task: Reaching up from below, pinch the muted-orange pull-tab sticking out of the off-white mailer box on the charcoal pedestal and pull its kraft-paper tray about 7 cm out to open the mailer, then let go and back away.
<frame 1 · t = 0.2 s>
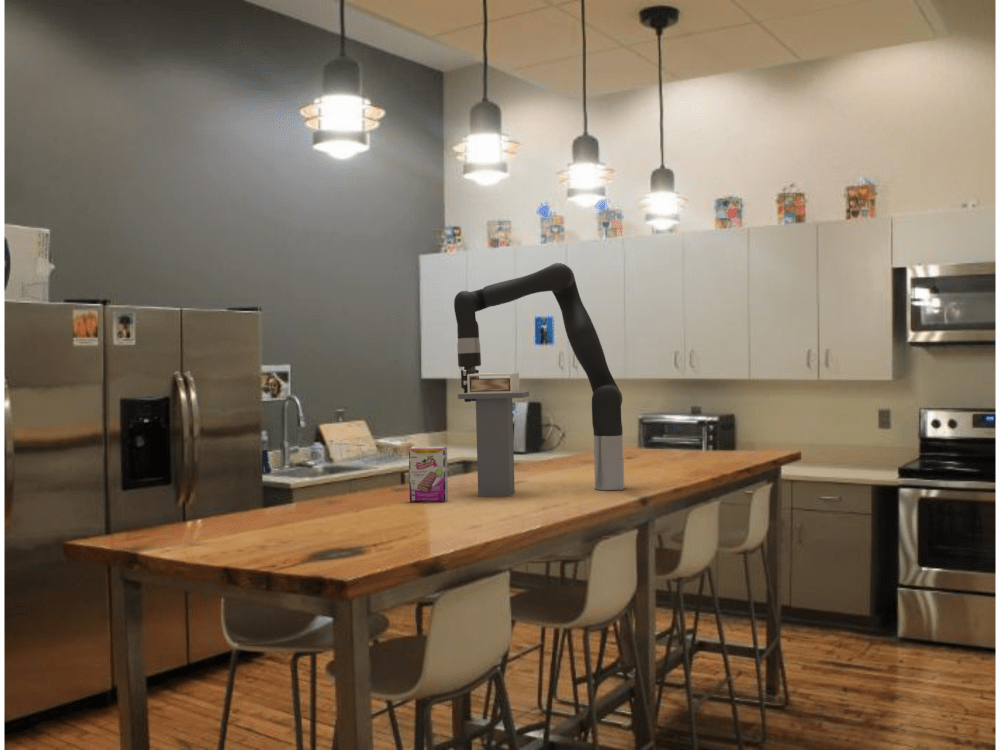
hand: (471, 401, 324), 29 cm above the table, tool pointing down, fingers open, 8 cm apart
mailer tray: (497, 383, 313), point 35 cm above the table, slide at 0.0 cm
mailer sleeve: (493, 392, 308), resting on charcoal pedestal
charcoal pedestal: (496, 494, 309), on the table
candy bar box: (429, 502, 298), on the table
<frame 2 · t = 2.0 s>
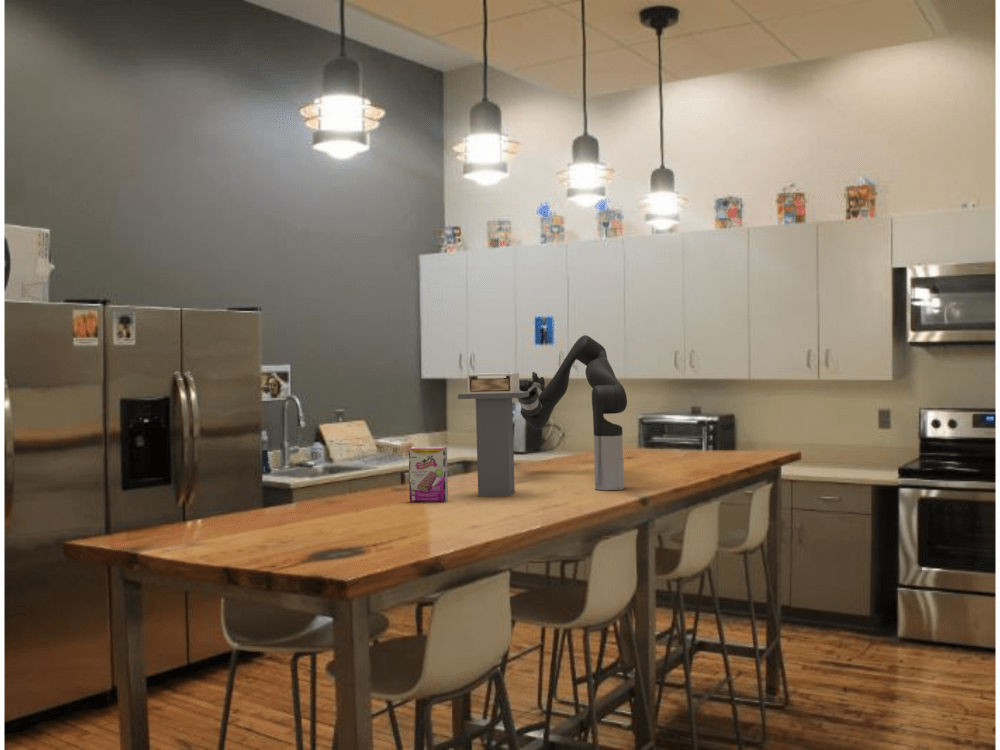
hand: (520, 374, 334), 37 cm above the table, tool pointing upward, fingers open, 8 cm apart
nothing on the table moved.
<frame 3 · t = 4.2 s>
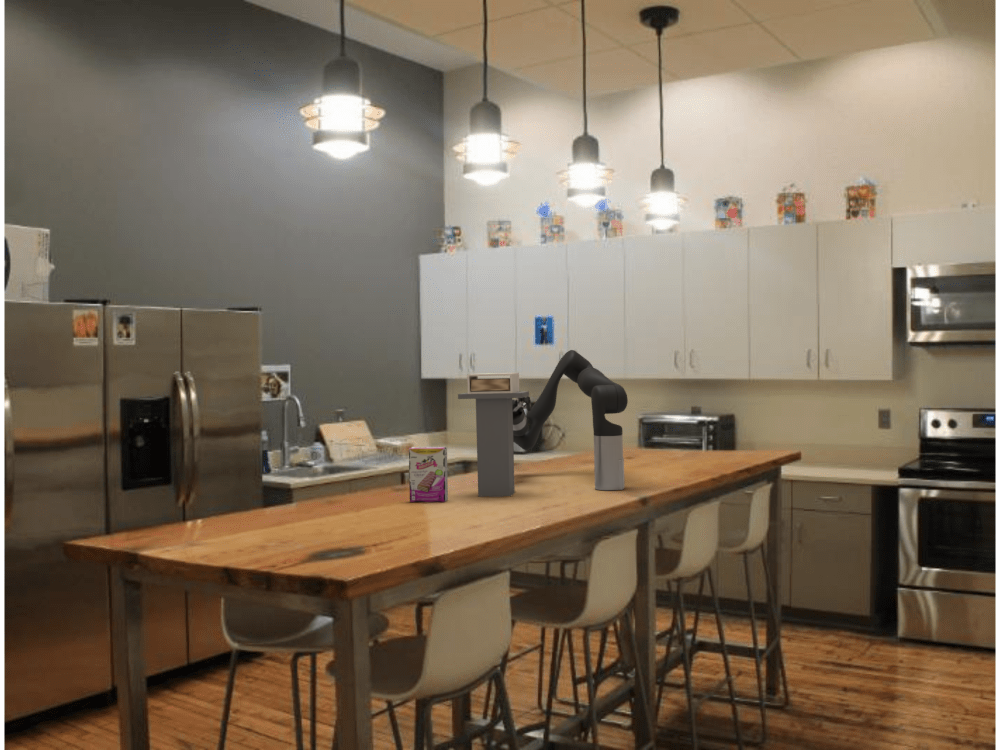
hand: (506, 393, 327), 31 cm above the table, tool pointing upward, fingers open, 8 cm apart
nothing on the table moved.
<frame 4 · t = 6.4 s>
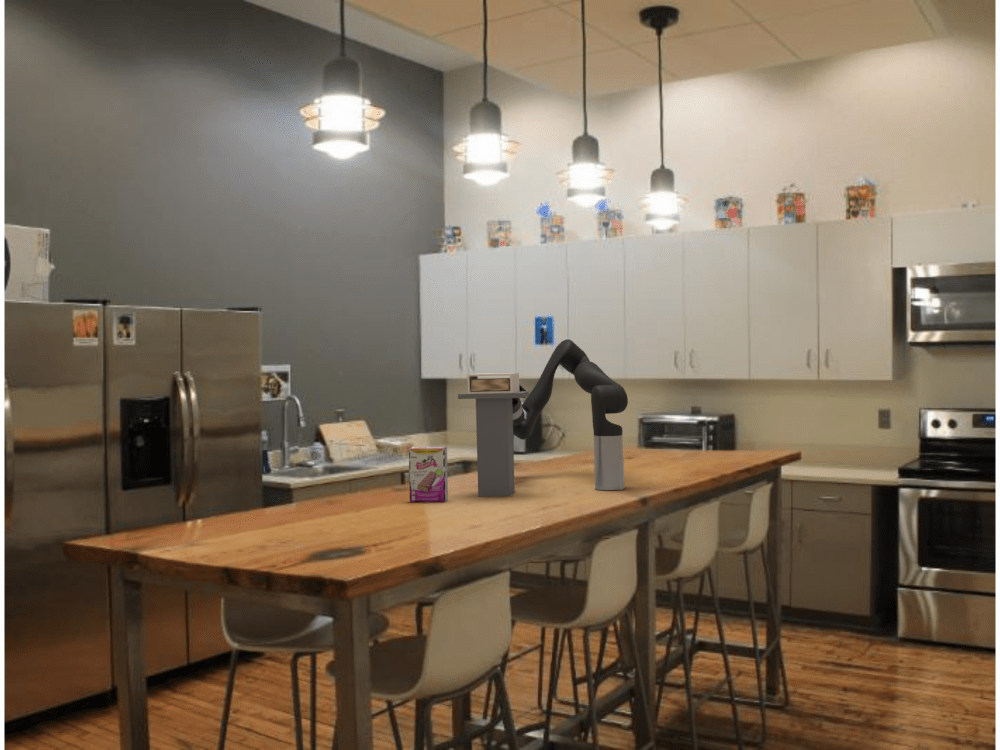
hand: (501, 380, 319), 35 cm above the table, tool pointing upward, fingers closed on mailer tray, 4 cm apart
mailer tray: (497, 383, 313), point 35 cm above the table, slide at 0.0 cm, touching gripper
everything else where it was.
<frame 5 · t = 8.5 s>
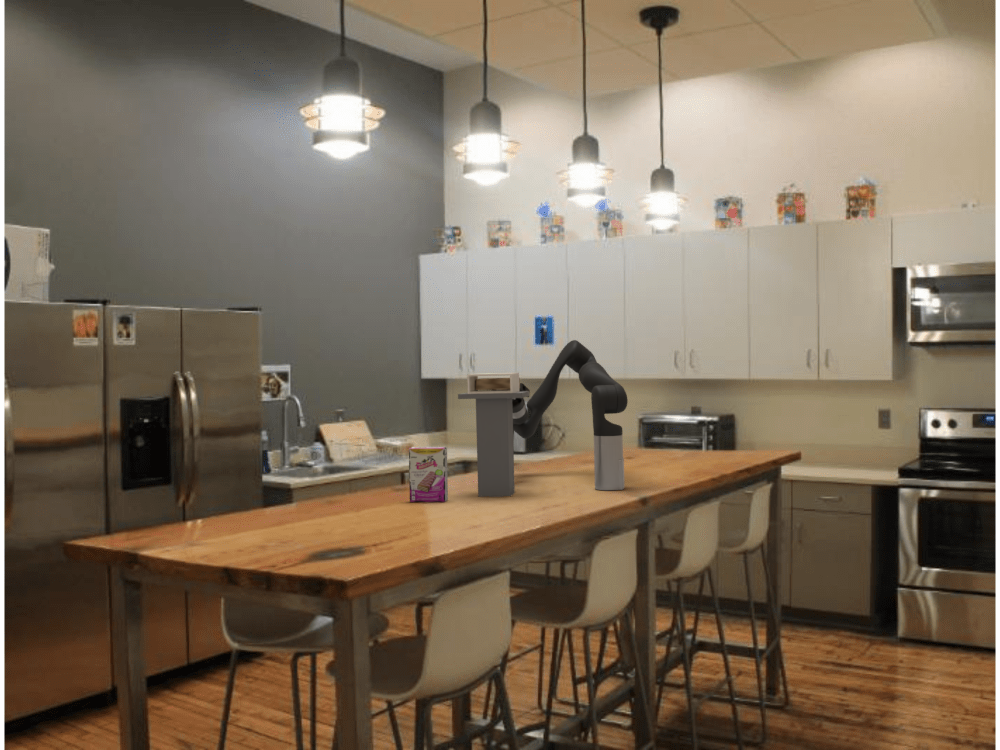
hand: (505, 380, 326), 35 cm above the table, tool pointing upward, fingers closed on mailer tray, 4 cm apart
mailer tray: (501, 383, 320), point 35 cm above the table, slide at 6.9 cm, touching gripper
everything else where it was.
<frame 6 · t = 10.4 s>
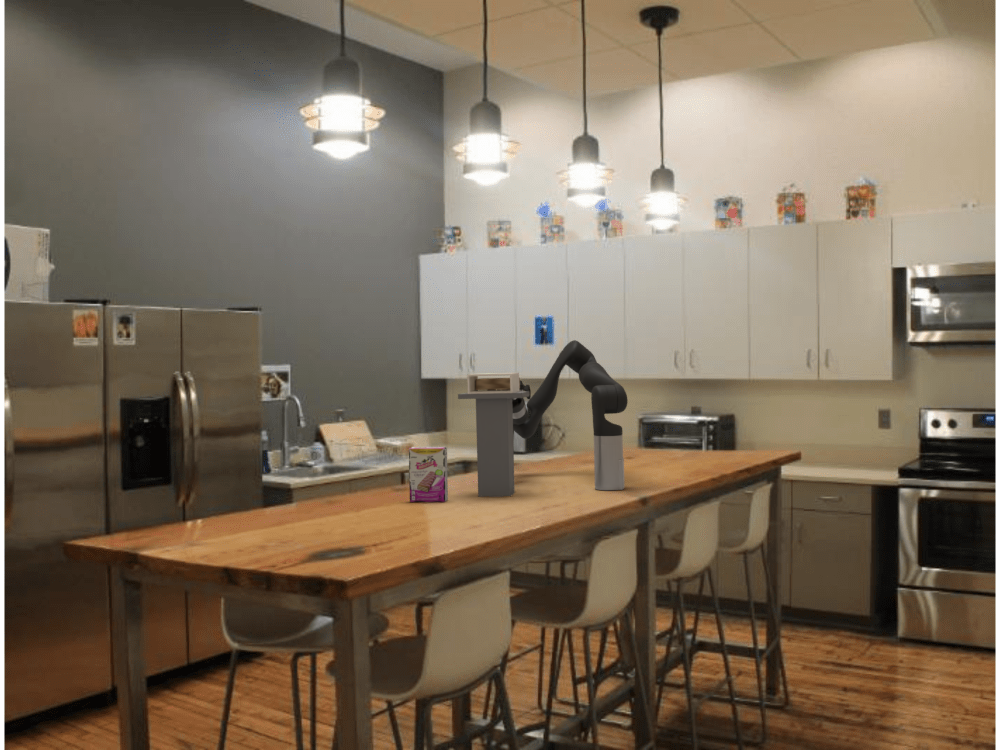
hand: (505, 381, 327), 35 cm above the table, tool pointing upward, fingers open, 8 cm apart
mailer tray: (501, 383, 320), point 35 cm above the table, slide at 7.0 cm
everything else where it was.
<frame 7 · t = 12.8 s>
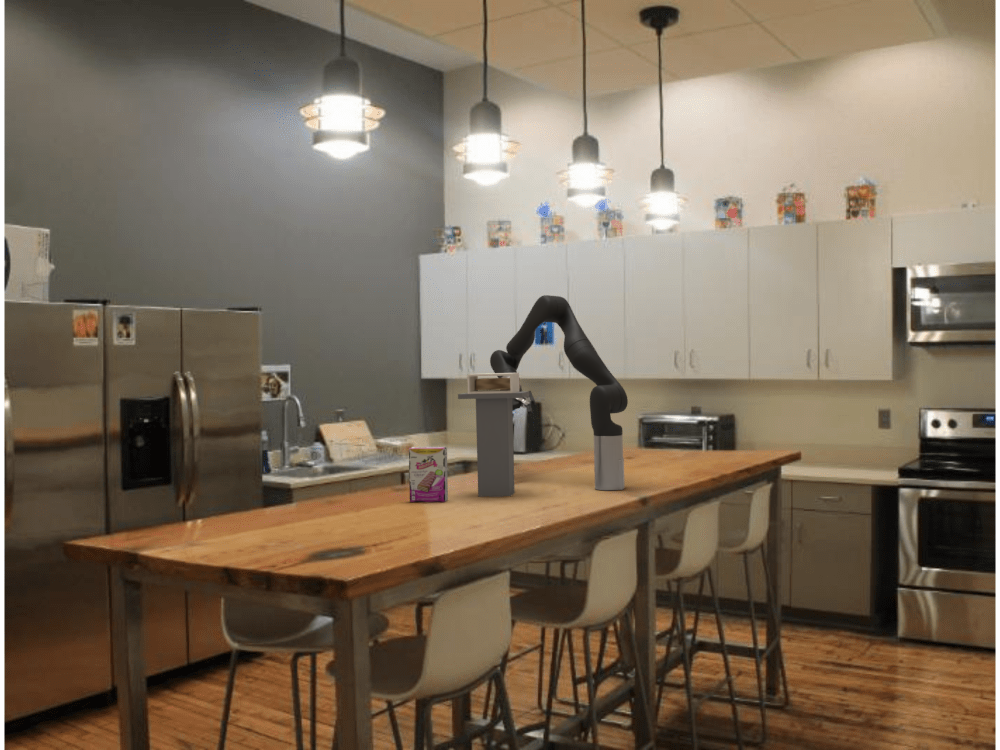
hand: (517, 418, 333), 22 cm above the table, tool tilted 55°, fingers open, 8 cm apart
nothing on the table moved.
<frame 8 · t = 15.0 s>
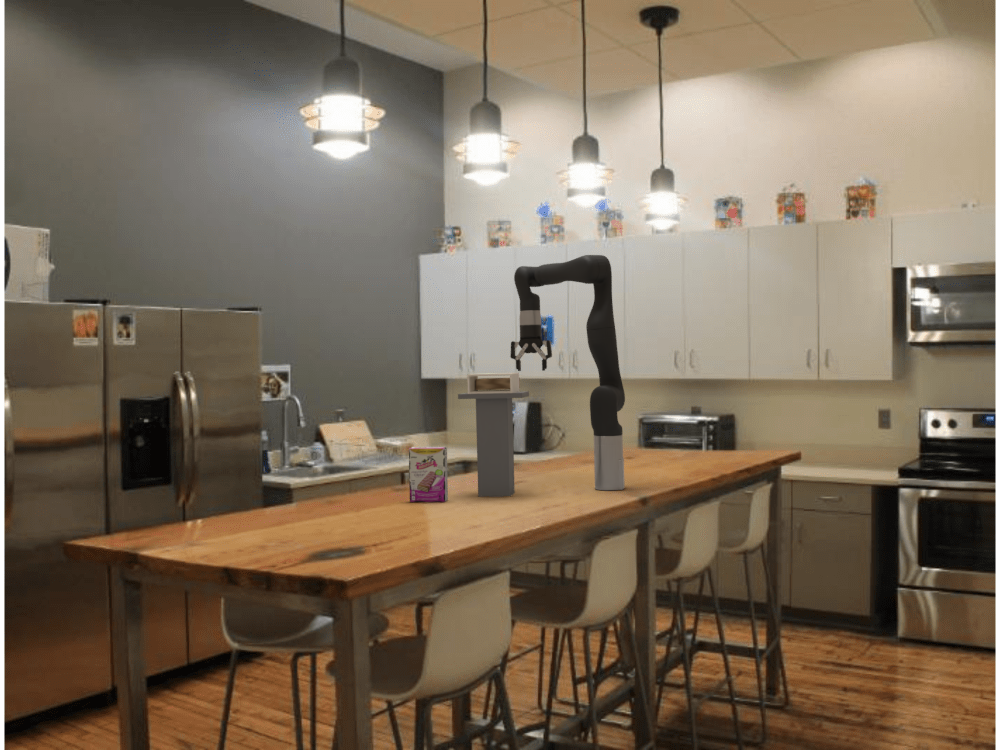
hand: (531, 370, 342), 38 cm above the table, tool pointing down, fingers open, 8 cm apart
nothing on the table moved.
at the end: mailer tray slide at 7.0 cm; the gripper is holding nothing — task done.
